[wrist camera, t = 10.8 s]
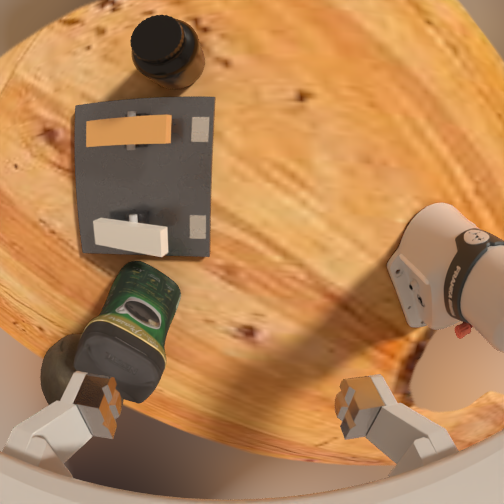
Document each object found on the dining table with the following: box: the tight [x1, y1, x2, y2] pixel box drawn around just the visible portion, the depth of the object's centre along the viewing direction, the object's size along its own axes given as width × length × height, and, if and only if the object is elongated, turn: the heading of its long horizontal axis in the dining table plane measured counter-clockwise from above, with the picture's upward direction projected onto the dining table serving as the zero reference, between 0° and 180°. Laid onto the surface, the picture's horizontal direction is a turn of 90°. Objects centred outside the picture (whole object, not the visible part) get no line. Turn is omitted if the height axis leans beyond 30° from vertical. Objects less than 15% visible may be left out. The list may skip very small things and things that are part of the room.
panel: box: [75, 97, 215, 257], centre depth 35 cm, size 18×20×3 cm
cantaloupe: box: [41, 334, 123, 408], centre depth 39 cm, size 14×14×15 cm
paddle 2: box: [93, 214, 168, 257], centre depth 34 cm, size 10×4×2 cm, turn 86°
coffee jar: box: [74, 261, 181, 403], centre depth 34 cm, size 10×8×19 cm
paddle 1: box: [86, 111, 172, 150], centre depth 30 cm, size 10×4×2 cm, turn 86°
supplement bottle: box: [131, 15, 205, 89], centre depth 26 cm, size 7×7×12 cm
